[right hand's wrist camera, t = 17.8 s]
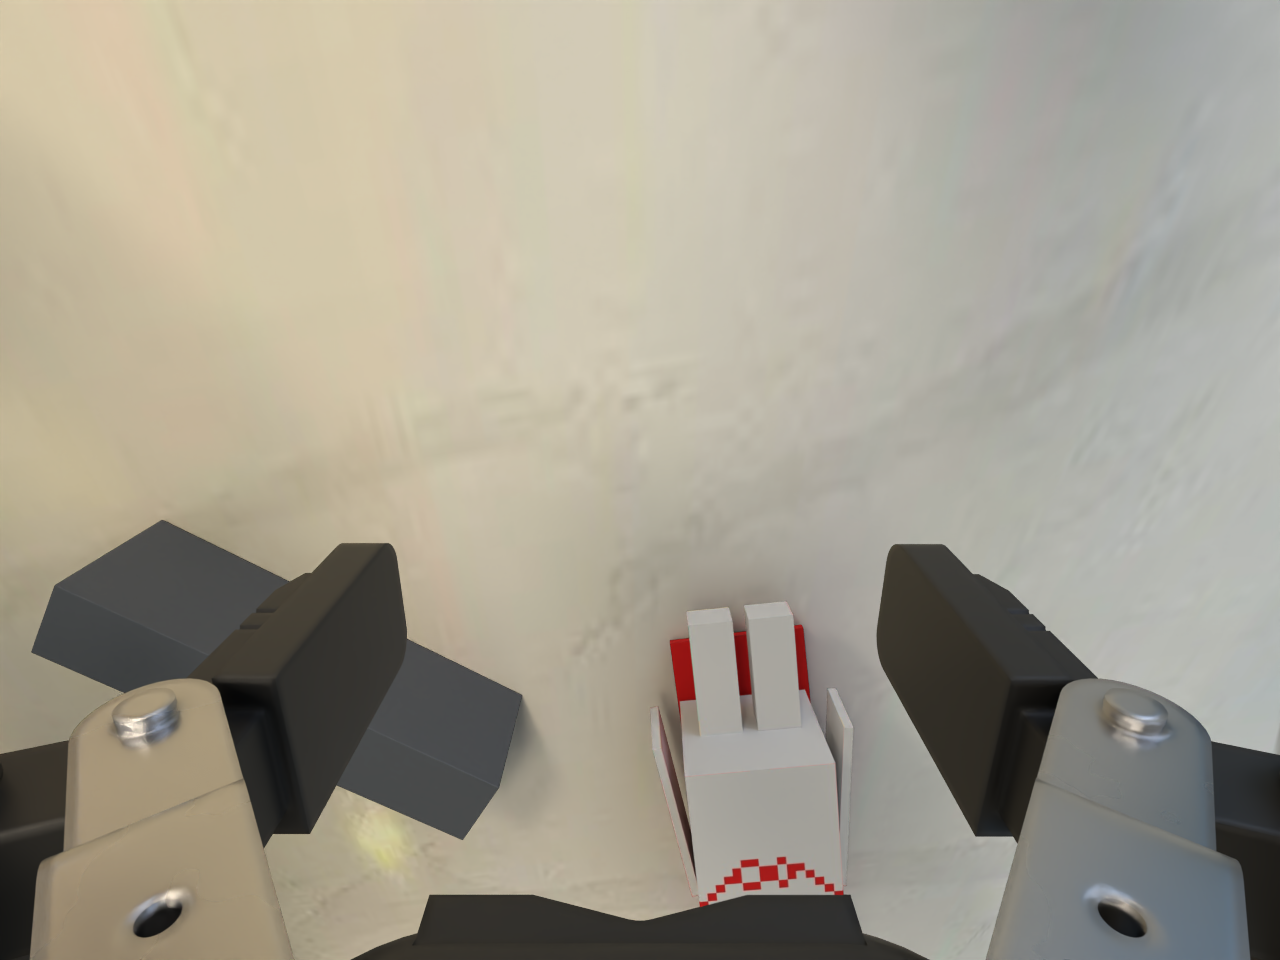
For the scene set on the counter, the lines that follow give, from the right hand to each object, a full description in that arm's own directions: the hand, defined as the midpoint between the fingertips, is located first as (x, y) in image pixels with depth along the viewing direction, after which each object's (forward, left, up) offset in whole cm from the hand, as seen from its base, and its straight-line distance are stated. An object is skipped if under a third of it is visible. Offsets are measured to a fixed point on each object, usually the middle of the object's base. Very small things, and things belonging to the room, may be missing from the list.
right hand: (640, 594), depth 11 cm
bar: (-8, -29, -31) cm, 43 cm away
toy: (+22, -23, -31) cm, 45 cm away
